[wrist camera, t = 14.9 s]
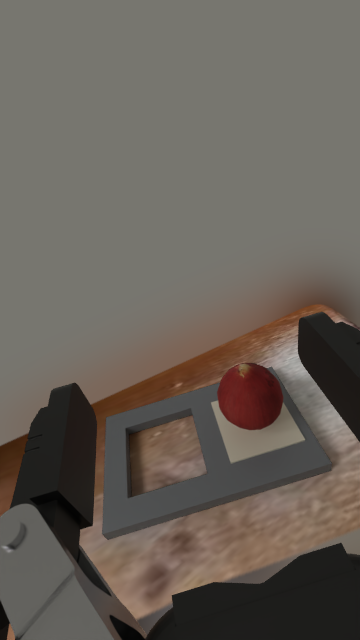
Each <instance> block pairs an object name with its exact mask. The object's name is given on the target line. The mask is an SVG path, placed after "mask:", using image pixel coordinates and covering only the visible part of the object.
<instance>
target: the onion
mask: <svg viewBox="0 0 360 640" xmlns="http://www.w3.org/2000/svg"><path fill="white" fill-rule="evenodd" d="M217 396H218V403H219V408H220V410H221V412H222V414H223V415H224V416H225V418H226V419H227V420H228V421H229V422H231V423H232V424H234V425H236V426H237V427H239V428H242V429H246V430H261V429H263V428H265V427H267V426H270V425H271V424H272V423H274V421H275V420H276V419H277V418H278V416H279V415H280V413H281V409H282V405H283V399H284V398H283V394H282V390H281V387H280V383H279V381H278V380H277V378H276V377H275V376H274V375H273V374H272V373H271V372H270V371H269V370H268V369H267V368H265V367H263V366H260V365H257V364H255V363H242V364H239V365H236V366H234V367H233V368H231V369H229V370H228V372H227V373H226V374H225V375H224V376H223V378H222V380H221V382H220V385H219V387H218V391H217Z"/></svg>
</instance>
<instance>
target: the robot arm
mask: <svg viewBox="0 0 360 640" xmlns="http://www.w3.org/2000/svg"><path fill="white" fill-rule="evenodd" d="M298 354H299V357H300V360H301V362H302V364H303V366H304V367H305V369H306V370H307V371H308V373H309V374H310V375H311V377H312V378H313V379H314V381H315V382H316V383H317V385H318V386H319V388H320V389H321V390H322V392H323V393H324V394H325V396H326V397H327V398H328V400H329V401H330V402H331V404H332V405H333V406H334V408H335V409H336V411H337V412H338V413H339V415H340V416H341V417H342V419H343V420H344V421H345V423H346V424H347V425H348V427H349V428H350V429H351V431H352V432H353V433H354V435H355V436H356V438H357V439H358V440H359V442H360V331H359V330H358V329H356V328H354V327H352V326H350V325H348V324H346V323H344V322H339V323H335V322H334V321H333V320H332V319H331V318H330V317H329V316H328V315H327V314H325V313H324V312H320V313H316V314H313V315H309V316H306V317H302V318H300V320H299V330H298ZM96 436H97V421H96V416H95V413H94V410H93V408H92V407H91V405H90V403H89V402H88V400H87V399H86V397H85V395H84V394H83V392H82V391H81V389H80V387H79V386H78V385H77V384H76V383H72V384H69V385H65V386H62V387H58V388H55V389H53V390H52V391H51V394H50V399H49V404H48V407H44V408H41V409H40V410H39V412H38V414H37V415H36V417H35V418H34V420H33V422H32V423H31V427H30V431H29V435H28V441H27V443H26V447H25V454H24V455H23V459H22V463H21V467H20V471H19V475H18V479H17V483H16V487H15V491H14V495H13V499H12V503H11V506H10V509H9V510H8V511H6V512H5V513H4V514H3V515H2V516H1V517H0V640H7V634H8V628H9V624H11V626H12V629H13V631H14V634H15V640H360V555H356V554H347V553H346V551H345V549H344V547H343V545H342V543H339V544H336V545H333V546H329V547H326V548H323V549H320V550H317V551H313V552H310V553H307V554H303V555H300V556H299V557H297V558H296V559H295V560H293V561H292V562H291V563H290V564H288V565H287V566H286V567H284V568H283V569H282V570H280V571H279V572H278V573H276V574H275V575H273V576H272V577H271V578H270V579H268V580H267V581H265V582H264V583H261V584H245V583H219V582H213V583H210V584H207V585H204V586H200V587H197V588H194V589H191V590H187V591H184V592H181V593H178V594H175V595H172V601H173V608H171V609H170V610H169V611H168V612H166V613H165V614H164V615H163V616H162V617H161V618H160V619H159V620H158V622H157V623H156V624H155V625H154V626H153V628H152V629H151V630H150V632H149V634H148V635H146V633H145V632H144V630H143V629H142V628H141V626H140V625H139V623H138V622H137V621H136V619H135V618H134V617H133V615H132V614H131V613H130V612H129V611H128V609H127V608H126V607H125V606H124V605H123V604H122V603H121V602H120V600H119V599H118V598H117V597H116V595H115V594H114V593H113V591H112V590H111V588H110V587H109V586H108V584H107V583H106V581H105V580H104V578H103V577H102V576H101V574H100V573H99V571H98V570H97V568H96V567H95V566H94V564H93V563H92V561H91V560H90V559H89V557H88V556H87V554H86V553H85V551H84V550H83V549H82V547H81V546H80V545H79V538H80V529H83V528H87V527H90V526H93V508H94V484H95V460H96Z"/></svg>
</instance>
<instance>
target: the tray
mask: <svg viewBox="0 0 360 640" xmlns="http://www.w3.org/2000/svg"><path fill="white" fill-rule="evenodd" d="M267 369H268V370H269V371H270V372H271V373H272V374H273V375H274V376H275V377H276V378H277V380H278V381H279V383H280V387H281V390H282V394H283V398H284V399H283V405H282V409H281V413H280V415H279V416H278V418H277V419H276V420H275V421H274V423H272V424H271V425H270V426H267V427H265V428H263V429H261V430H246V429H242V428H239V427H237V426H236V425H234V424H232V423H231V422H229V421H228V420H227V419H226V418H225V416H224V415H223V414H222V412H221V410H220V408H219V403H218V396H217V391H218V387H219V385H220V383H217V384H214V385H211V386H207V387H204V388H201V389H198V390H194V391H191V392H188V393H185V394H181V395H178V396H175V397H171V398H168V399H165V400H162V401H158V402H155V403H152V404H149V405H145V406H142V407H139V408H136V409H132V410H129V411H126V412H123V413H119V414H116V415H113V416H110V417H106V438H105V468H104V499H103V530H102V534H103V535H104V536H105V537H106V538H107V539H111V538H115V537H118V536H121V535H124V534H128V533H131V532H134V531H137V530H141V529H144V528H147V527H150V526H154V525H157V524H160V523H163V522H166V521H170V520H173V519H176V518H179V517H183V516H186V515H189V514H192V513H196V512H199V511H202V510H205V509H209V508H212V507H215V506H218V505H221V504H225V503H228V502H231V501H234V500H238V499H241V498H244V497H247V496H251V495H254V494H257V493H260V492H264V491H267V490H270V489H273V488H277V487H280V486H283V485H286V484H289V483H293V482H296V481H299V480H302V479H306V478H309V477H312V476H315V475H319V474H322V473H325V472H328V471H331V467H332V463H331V461H330V460H329V458H328V456H327V455H326V453H325V452H324V450H323V448H322V447H321V445H320V444H319V442H318V440H317V439H316V437H315V436H314V434H313V432H312V431H311V429H310V428H309V426H308V424H307V423H306V421H305V419H304V418H303V416H302V415H301V413H300V411H299V410H298V408H297V407H296V405H295V403H294V402H293V400H292V399H291V397H290V395H289V394H288V392H287V390H286V389H285V387H284V386H283V384H282V382H281V381H280V379H279V378H278V376H277V374H276V373H275V371H274V370H273V368H272V367H269V368H267ZM190 415H193V418H194V422H195V426H196V430H197V434H198V438H199V441H200V445H201V449H202V453H203V457H204V461H205V465H206V469H207V473H208V474H205V475H202V476H199V477H196V478H192V479H189V480H186V481H183V482H179V483H176V484H173V485H170V486H166V487H163V488H160V489H157V490H153V491H150V492H147V493H144V494H140V495H137V496H134V497H132V496H131V472H130V447H129V434H132V433H135V432H138V431H142V430H145V429H148V428H151V427H155V426H158V425H161V424H164V423H168V422H171V421H174V420H177V419H181V418H184V417H187V416H190Z"/></svg>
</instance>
